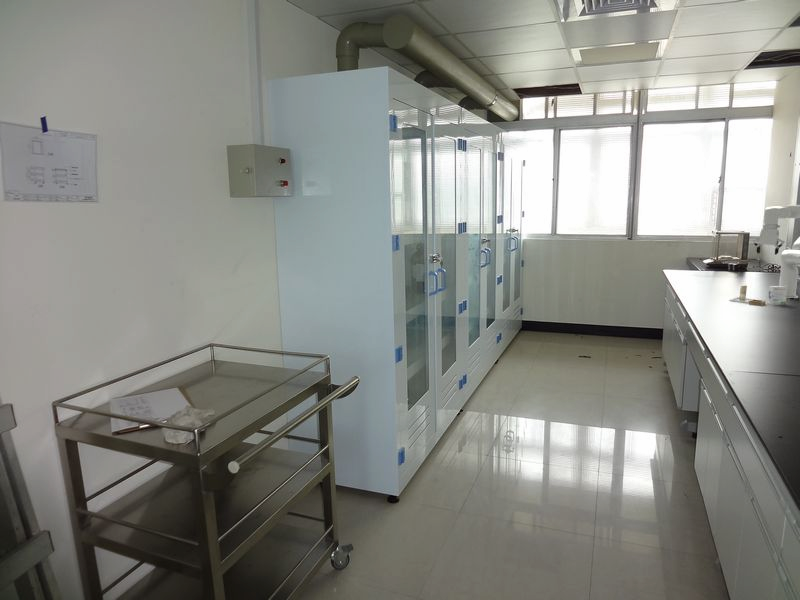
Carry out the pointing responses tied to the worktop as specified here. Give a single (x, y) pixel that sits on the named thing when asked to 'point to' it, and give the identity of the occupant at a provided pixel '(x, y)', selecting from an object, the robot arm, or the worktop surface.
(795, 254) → the robot arm
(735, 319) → the worktop surface
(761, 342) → the worktop surface
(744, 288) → the dowel
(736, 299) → the tray
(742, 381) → the worktop surface
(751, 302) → the shallow wooden box
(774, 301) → the ink box
